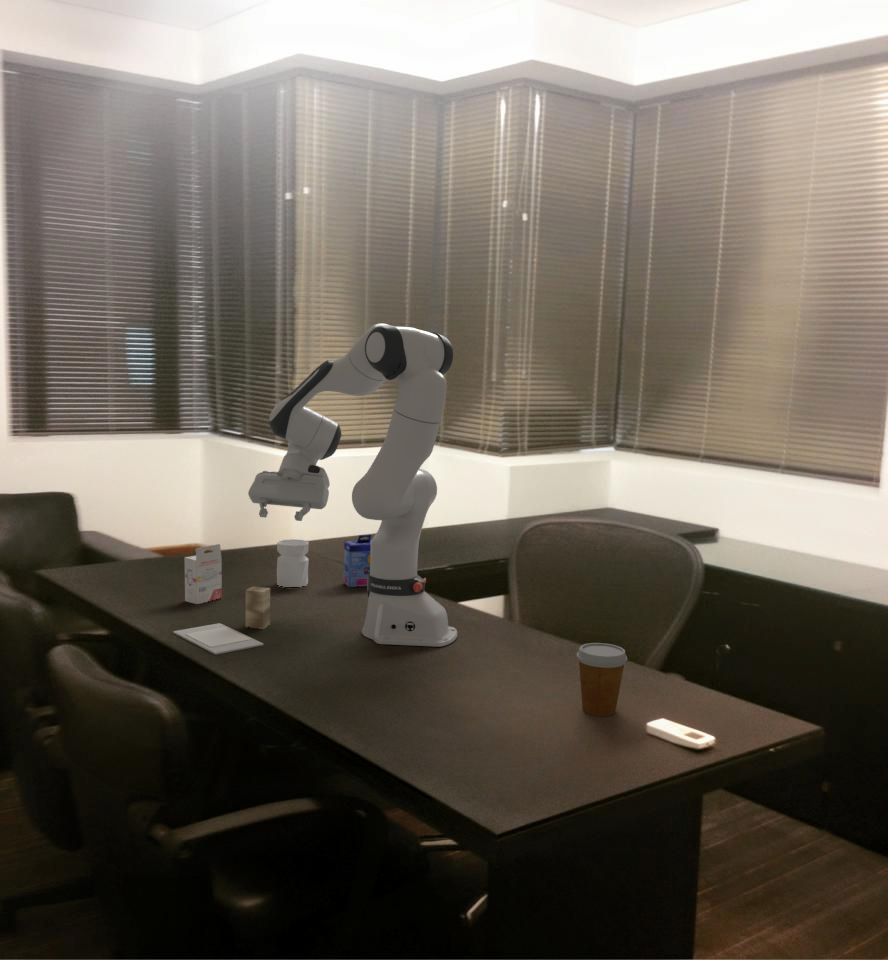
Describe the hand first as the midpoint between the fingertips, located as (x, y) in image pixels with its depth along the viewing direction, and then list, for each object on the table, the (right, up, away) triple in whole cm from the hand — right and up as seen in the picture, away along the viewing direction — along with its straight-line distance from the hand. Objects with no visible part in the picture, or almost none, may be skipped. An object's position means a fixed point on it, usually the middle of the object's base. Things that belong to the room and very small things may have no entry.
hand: (279, 517), depth 253 cm
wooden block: (-4, -25, -9) cm, 27 cm away
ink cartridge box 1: (-22, -22, +13) cm, 34 cm away
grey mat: (-11, -27, -21) cm, 36 cm away
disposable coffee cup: (+70, -35, -58) cm, 98 cm away
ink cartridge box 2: (+18, -20, +35) cm, 44 cm away
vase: (-2, -20, +32) cm, 38 cm away
